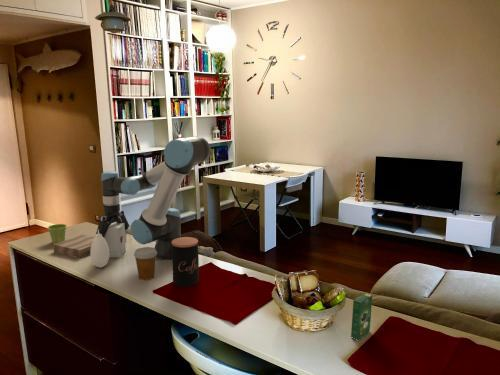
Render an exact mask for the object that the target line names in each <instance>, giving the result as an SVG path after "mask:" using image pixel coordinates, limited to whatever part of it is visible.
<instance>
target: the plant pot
mask: <svg viewBox="0 0 500 375" xmlns="http://www.w3.org/2000/svg"><path fill="white" fill-rule="evenodd" d="M67 227H68V225H67V224H64V223H56V224H55V223H54V224H52V225H49V226H47V231H48V232H49V236H50V239H51V243H52V244H53V245H54V244H56V243H59V242H62V241H65V240H66V230H67Z"/></svg>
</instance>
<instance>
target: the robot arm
mask: <svg viewBox="0 0 500 375" xmlns="http://www.w3.org/2000/svg"><path fill="white" fill-rule="evenodd" d="M211 150H212V148H211V145H210V143H209V142H208V141H207V139H205V138H204V137H201V136H190V137H178V138H174V139H171V140H170V141H169V142H167V144H166V145H165V147H164V150H163V155H164V157H163V159H164V161H162V162H161V163H159V164H157V165H156V166H154V167H152V168H151V169H149V170H147V171H145V172H143V173H142V174H137V175H134V176H133V175H132V176H128V177H121V176H119V173H118V172H117V171H114V170H110V171H104V172H102V173H101V189H102V190H101V193H102V203H103V207H102V208H103V213H104V216H99V222H98V225H97V229H96V233H95V236H94V237H96V234H98V229H99V234H102V237H103V238H104V239H105V241H106V237H104V236H105V234H106V232H107V230H108V228H109V226H110V225H111V223H124V226H125V244H126V243H127V230H128V229H129V227H130V233H131V235H132V238H133V239H134V240H135V241H136V243H138V244H140V245H148V244H151V243H152V242H155V245H154V248H155V249H156V251H157V255H156V259H160V260H172V246H173V245H172V240H174V239H176V238H180V237H182V234H181V230H182V229H181V228H182V226H181V218H182V217H181V210H179V209H177V208H172V207H171V205H172V204H173V201H174V199H175V197H176V195H177V194H178V193H177V192H179V190H180V187H181V185H182V183H183V180H184V178H185V176H188V175H189V174H191V172H192V170H193V168H194V167H195V166H197V165H199V164H201V163H204V162H206V161H207V160H208V159H209V157H210V156H211ZM157 184H158V185H157ZM156 186H157V187H156ZM155 187H156V189H155V191H154V194H153V195H152V198H151V200H150V202H149V204H148V206H147V208H145V209H143V210H142V211H141V214H140V216H139V217H138V219H134V221H132V222H131V224H129V221H128V220H127V218H126V217H127V216H126V215H125V211H124V210H121V205H120V194H122V195H127V196H133V195H136V194H138V192H141V191H145V190H150V189H153V188H155Z"/></svg>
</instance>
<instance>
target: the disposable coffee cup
mask: <svg viewBox="0 0 500 375" xmlns="http://www.w3.org/2000/svg"><path fill="white" fill-rule="evenodd" d="M156 255H157V251H156V249H155V247H152V246H151V247H150V246H146V247H145V246H144V247H140V248H136V249H135V250H134V253H133V256H134V258H135V264H136V267H137V269H136V270H137V273H138V278H139V280H142V281H149V280H153V279H154V278H155V270H156V261H157V258H156Z"/></svg>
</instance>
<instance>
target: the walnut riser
mask: <svg viewBox="0 0 500 375" xmlns="http://www.w3.org/2000/svg"><path fill="white" fill-rule="evenodd" d="M94 238H95V236H92V235H86V234H80V235H77V236H73V237H71V238H68V239H65V241H62V242H59V243H56V244H54V243H53V244H52V245H53V253H56V254H59V255H65V256H70V257H75V258H78V259H82V258H85V257H87V256H88V255H89V256H90V255H91V254H90V251H91V245H92V242H93V240H94Z"/></svg>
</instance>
